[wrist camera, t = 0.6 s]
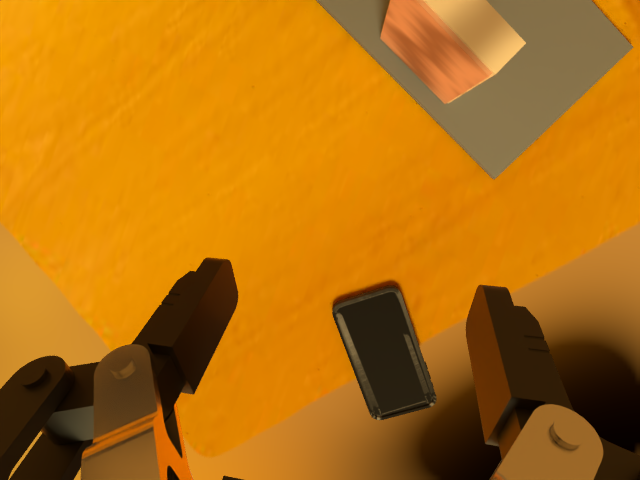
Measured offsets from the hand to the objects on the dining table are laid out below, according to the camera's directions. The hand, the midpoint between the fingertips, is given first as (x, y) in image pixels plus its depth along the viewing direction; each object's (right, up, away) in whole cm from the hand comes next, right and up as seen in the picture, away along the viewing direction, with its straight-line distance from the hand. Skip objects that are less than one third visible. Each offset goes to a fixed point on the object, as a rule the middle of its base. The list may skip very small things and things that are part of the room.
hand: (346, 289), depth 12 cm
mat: (+12, +22, +21) cm, 33 cm away
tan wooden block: (+9, +19, +22) cm, 30 cm away
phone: (+7, -11, +29) cm, 32 cm away
